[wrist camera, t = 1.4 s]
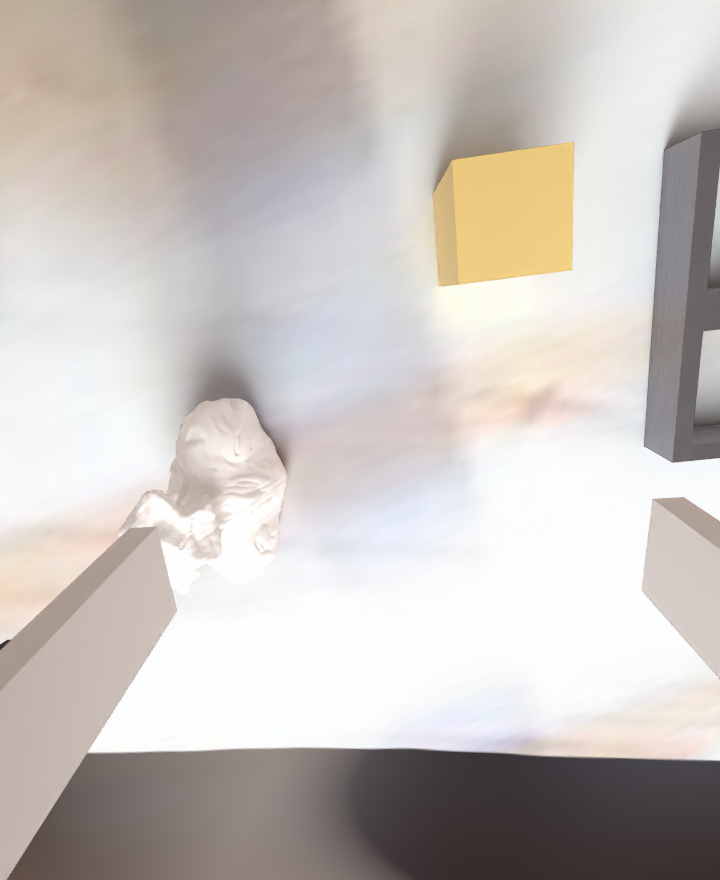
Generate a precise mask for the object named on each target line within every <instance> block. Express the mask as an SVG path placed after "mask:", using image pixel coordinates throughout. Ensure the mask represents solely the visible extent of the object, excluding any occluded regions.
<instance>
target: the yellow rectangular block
mask: <svg viewBox="0 0 720 880" xmlns="http://www.w3.org/2000/svg"><path fill="white" fill-rule="evenodd" d="M573 178H574V142H569V143H563V144H556V145H549V146H542V147H536V148H529V149H522V150H515V151H509V152H502V153H495V154H488V155H482V156H475V157H468V158H461V159H455V160H452V161H451V163H450V164H449V166H448V168H447V170H446V172H445V173H444V175H443V177H442V179H441V181H440V182H439V184H438V186H437V188H436V190H435V191H434V193H433V201H434V216H435V231H436V246H437V261H438V276H439V287H440V286H450V285H459V284H467V283H475V282H482V281H490V280H498V279H506V278H514V277H521V276H529V275H537V274H545V273H553V272H560V271H568V270H572V241H573Z"/></svg>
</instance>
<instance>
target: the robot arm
mask: <svg viewBox="0 0 720 880" xmlns="http://www.w3.org/2000/svg"><path fill="white" fill-rule="evenodd" d="M641 591H642V592H643V593H644V594H645V595H646V596H647V597H648V598H649V600H650V601H651V602H652V603H653V604H654V605H655V606H656V608H657V609H658V610H659V611H660V612H661V613H662V614H663V615H664V617H665V618H666V619H667V620H668V621H669V622H670V623H671V625H672V626H673V627H674V628H675V629H676V630H677V631H678V632H679V634H680V635H681V636H682V637H683V638H684V639H685V640H686V642H687V643H688V644H689V645H690V646H691V647H692V648H693V649H694V651H695V652H696V653H697V654H698V655H699V656H700V657H701V658H702V660H703V661H704V662H705V663H706V664H707V665H708V666H709V668H710V669H711V670H712V671H713V672H714V673H715V674H716V675H717V677H718V678H719V679H720V521H718V520H717V519H715V518H714V517H712V516H711V515H709V514H708V513H706V512H705V511H703V510H702V509H700V508H699V507H697V506H696V505H694V504H693V503H691V502H690V501H689V500H687V499H686V498H684V497H680V498H662V499H653V501H652V509H651V517H650V525H649V533H648V541H647V549H646V558H645V566H644V574H643V582H642V590H641ZM176 612H177V608H176V604H175V600H174V596H173V592H172V587H171V583H170V579H169V575H168V571H167V567H166V562H165V558H164V554H163V550H162V546H161V542H160V538H159V533H158V529H157V526H156V527H138V528H129V529H128V530H127V531H126V532H125V533H124V534H123V535H122V536H121V537H120V538H119V539H118V540H117V541H116V542H114V543H113V544H112V545H111V546H110V547H109V548H108V549H107V550H106V551H105V552H104V553H103V554H102V555H101V556H100V557H99V558H97V559H96V560H95V561H94V562H93V563H92V564H91V565H90V566H89V567H88V568H87V569H86V570H85V571H84V572H83V573H82V574H81V575H79V576H78V577H77V578H76V579H75V580H74V581H73V582H72V583H71V584H70V585H69V586H68V587H67V588H66V589H65V590H64V591H63V592H61V593H60V594H59V595H58V596H57V597H56V598H55V599H54V600H53V601H52V602H51V603H50V604H49V605H48V606H47V607H46V608H45V609H43V610H42V611H41V612H40V613H39V614H38V615H37V616H36V617H35V618H34V619H33V620H32V621H31V622H30V623H29V624H28V625H27V626H25V627H24V628H23V629H22V630H21V631H20V632H19V633H18V634H17V635H16V636H15V637H14V638H13V639H12V640H6V641H5V642H3V643H2V644H0V880H7V878H8V876H9V875H10V873H11V872H12V870H13V869H14V867H15V865H16V864H17V862H18V861H19V859H20V857H21V856H22V854H23V853H24V851H25V850H26V848H27V846H28V845H29V843H30V841H31V840H32V838H33V837H34V835H35V834H36V832H37V831H38V829H39V827H40V826H41V824H42V823H43V821H44V819H45V818H46V816H47V815H48V813H49V812H50V810H51V809H52V807H53V806H54V804H55V802H56V801H57V799H58V798H59V796H60V794H61V793H62V791H63V790H64V788H65V787H66V785H67V783H68V782H69V780H70V779H71V777H72V776H73V774H74V772H75V771H76V769H77V768H78V766H79V765H80V763H81V761H82V760H83V758H84V757H85V755H86V753H87V752H88V750H89V749H90V747H91V746H92V744H93V742H94V741H95V739H96V738H97V736H98V735H99V733H100V731H101V730H102V728H103V727H104V725H105V724H106V722H107V720H108V719H109V717H110V716H111V714H112V713H113V711H114V709H115V708H116V706H117V705H118V703H119V701H120V700H121V698H122V697H123V695H124V694H125V692H126V690H127V689H128V687H129V686H130V684H131V683H132V681H133V679H134V678H135V676H136V675H137V673H138V672H139V670H140V668H141V667H142V665H143V664H144V662H145V661H146V659H147V657H148V656H149V654H150V653H151V651H152V649H153V648H154V646H155V645H156V643H157V642H158V640H159V638H160V637H161V635H162V634H163V632H164V631H165V629H166V627H167V626H168V624H169V623H170V621H171V620H172V618H173V616H174V615H175V613H176Z"/></svg>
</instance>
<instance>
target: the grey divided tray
mask: <svg viewBox="0 0 720 880" xmlns="http://www.w3.org/2000/svg"><path fill="white" fill-rule="evenodd" d="M719 168H720V129H717V130H710V131H704V132H700V133H698V134H696V135H694V136H692V137H690V138H688V139H686V140H684V141H682V142H680V143H678V144H676V145H674V146H672V147H670V148H668V149H666V150H664V162H663V177H662V192H661V206H660V221H659V236H658V250H657V265H656V280H655V294H654V309H653V324H652V339H651V353H650V368H649V383H648V397H647V412H646V427H645V441H644V447H646V448H648V449H650V450H651V451H653V452H655V453H657V454H658V455H660V456H662V457H663V458H665V459H667V460H669V461H670V462H672V463H673V462H683V461H694V460H704V459H714V458H720V424H716V425H706V426H696V427H693V426H694V416H695V406H696V396H697V386H698V376H699V366H700V356H701V346H702V336H703V331H709V330H717V329H720V287H713V288H707V287H708V277H709V267H710V257H711V247H712V237H713V227H714V218H715V208H716V198H717V188H718V178H719Z"/></svg>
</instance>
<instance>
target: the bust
mask: <svg viewBox="0 0 720 880" xmlns="http://www.w3.org/2000/svg"><path fill="white" fill-rule="evenodd" d="M170 472H171V477H170V481H169V485H168V491H167V494H165V493H164V492H163V491H162V490H159V491H158V490H151V491H147V492H145V493H144V494H143V496H142V497H141V499H140V501H139V502H138V504H137V505H136V506H135V508H134V510H133V511H132V512H131V513H130V514H129V515H128V517H127V519H126V521H125V522H124V524H123V525H122V526H121V528H120V529H119V531H118V534H119V537H121V536H122V535H123V534H124V533H125V532H126V531H127V530H128V529H129V528H138V527H156V526H157V529H158V533H159V538H160V542H161V546H162V550H163V554H164V558H165V562H166V567H167V571H168V575H169V579H170V583H171V587H172V588H176V589H177V591H178V592H179V593H180V594H185V593H187V591H188V590H189V587H190V584H191V582H192V581H193V580H195V579H197V578H198V577H199V576H200V573H199V571H197V570H194V569H195V568H197V567H199V566H201V565H203V564H205V563H208V564H209V565H210V566H212V567H213V568H215V569H216V570H217V571H218V572H219V573H220V574H221V575H223V576H224V577H225V578H227V579H228V580H230V581H233V582H237V583H242V584H246V583H249V582H251V581H252V580H253V578H254V577H256V576H259V575H261V574H262V573H263V572H264V569H265V566H266V564H267V563H269V562H271V561H272V560H273V559H274V557H275V555H276V551H277V548H276V546H277V541H278V538H279V534H280V528H279V513H280V511H281V508H282V504H283V498H284V492H285V488H286V484H287V481H288V479H287V472H286V470H285V468H284V466H283V464H282V462H281V460H280V458H279V456H278V455H277V453H276V448H275V445H274V443H273V441H272V440H271V439H270V437H269V436H268V435H267V434H266V433H265V432H264V431H263V429H262V427H261V425H260V423H259V420H258V418H257V416H256V413H255V410H254V409H253V407H252V406H251V405H250V404H249V403H248V402H246V401H244V400H242V399H237V398H229V399H228V398H221V399H219V400H216V401H203V402H201V403H200V404H199V405H198V406H197V407H196V408H195V410H194V411H193V412H192V413H190V414H189V415H187V416H186V417H185V418H184V420H183V422H182V424H181V434H180V436H179V439H178V440H177V442H176V458H175V459H174V461H173V462H172V464H171V467H170Z"/></svg>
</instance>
